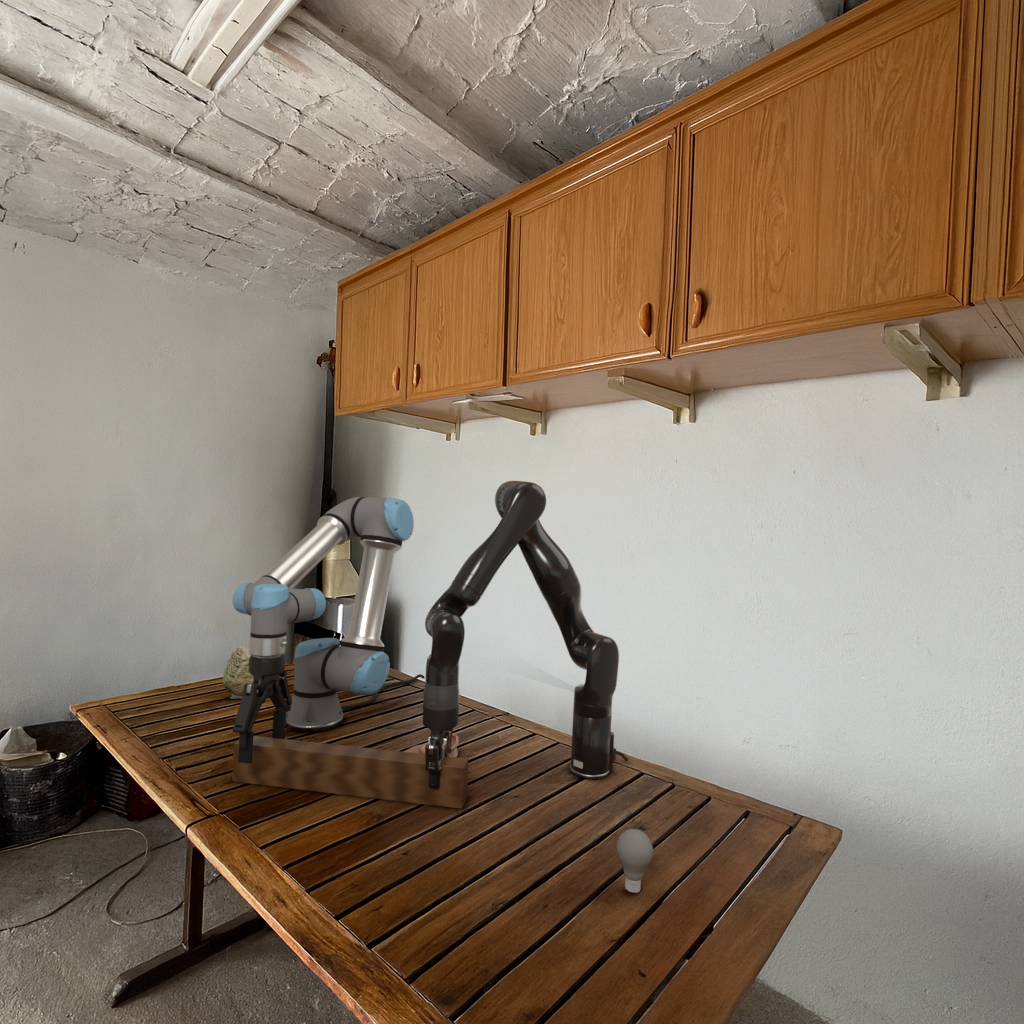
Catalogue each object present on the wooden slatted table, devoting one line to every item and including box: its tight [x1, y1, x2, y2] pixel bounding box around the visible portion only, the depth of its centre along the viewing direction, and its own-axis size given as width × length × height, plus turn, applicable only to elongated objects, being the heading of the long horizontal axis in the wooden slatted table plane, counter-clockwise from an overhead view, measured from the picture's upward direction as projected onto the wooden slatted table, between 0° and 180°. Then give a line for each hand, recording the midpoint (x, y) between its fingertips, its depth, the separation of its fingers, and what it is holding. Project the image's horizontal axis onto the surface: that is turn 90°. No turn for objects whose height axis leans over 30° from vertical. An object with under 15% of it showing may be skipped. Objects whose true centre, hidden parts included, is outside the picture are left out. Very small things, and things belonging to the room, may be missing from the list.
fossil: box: [222, 646, 254, 699], centre depth 198 cm, size 9×18×15 cm, turn 132°
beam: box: [231, 735, 469, 810], centre depth 137 cm, size 52×5×8 cm, turn 81°
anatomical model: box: [404, 734, 460, 758], centre depth 158 cm, size 13×4×12 cm
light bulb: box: [615, 828, 654, 894], centre depth 106 cm, size 6×6×10 cm
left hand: (262, 750), depth 140 cm, fingers open, 13 cm apart
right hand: (437, 781), depth 135 cm, fingers closed on beam, 5 cm apart
